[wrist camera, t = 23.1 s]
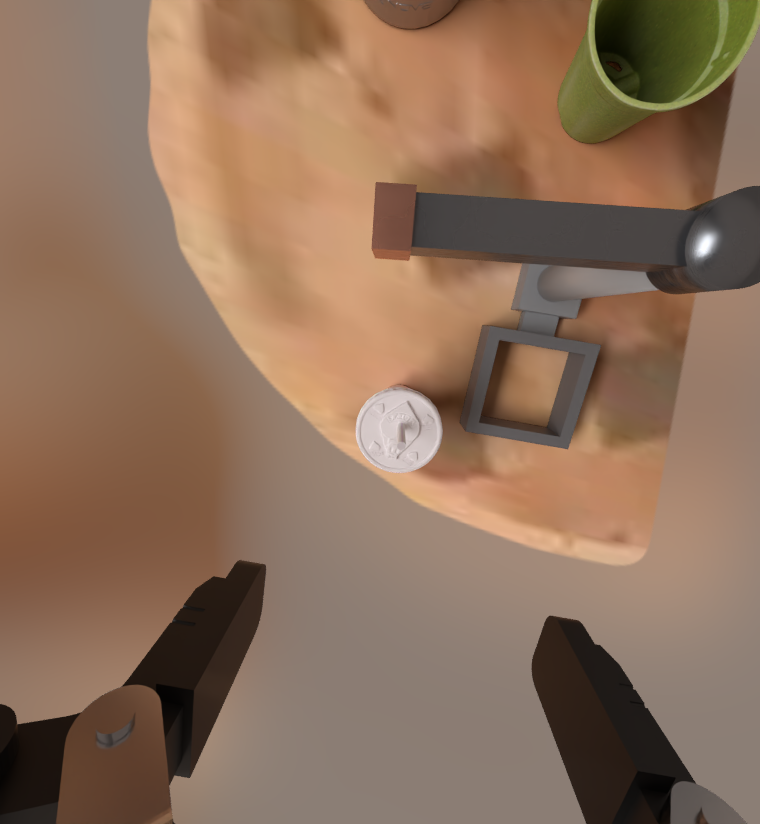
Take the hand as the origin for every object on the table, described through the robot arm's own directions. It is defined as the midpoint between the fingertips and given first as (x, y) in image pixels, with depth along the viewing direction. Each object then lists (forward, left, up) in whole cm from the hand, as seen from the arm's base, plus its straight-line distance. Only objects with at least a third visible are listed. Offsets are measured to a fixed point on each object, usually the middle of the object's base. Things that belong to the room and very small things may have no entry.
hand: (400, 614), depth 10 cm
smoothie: (0, 0, -26) cm, 26 cm away
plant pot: (-27, +11, -26) cm, 39 cm away
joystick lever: (-12, +5, -10) cm, 17 cm away
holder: (-7, +11, -26) cm, 29 cm away
